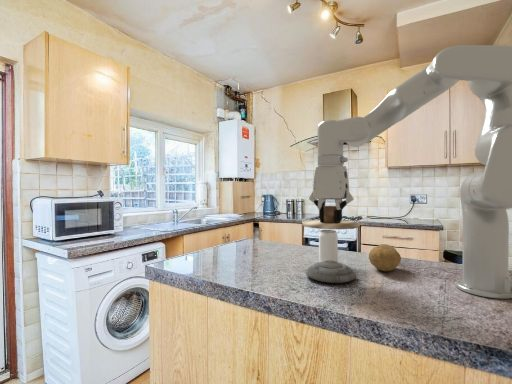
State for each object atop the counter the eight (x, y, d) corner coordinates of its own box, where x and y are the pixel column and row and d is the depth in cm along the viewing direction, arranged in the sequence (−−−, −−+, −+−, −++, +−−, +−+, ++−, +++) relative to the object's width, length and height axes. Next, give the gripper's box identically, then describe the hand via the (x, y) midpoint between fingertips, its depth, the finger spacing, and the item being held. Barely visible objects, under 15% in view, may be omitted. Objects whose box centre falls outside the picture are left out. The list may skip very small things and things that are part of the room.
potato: (365, 273, 92) (365, 248, 92) (371, 263, 104) (371, 241, 104) (399, 278, 87) (399, 252, 87) (401, 267, 99) (401, 244, 99)
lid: (366, 224, 90) (366, 205, 90) (349, 231, 76) (349, 209, 76) (315, 220, 100) (315, 204, 100) (292, 226, 86) (292, 206, 86)
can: (339, 266, 100) (339, 232, 100) (321, 266, 100) (320, 232, 100) (335, 261, 107) (334, 229, 107) (317, 261, 107) (317, 229, 107)
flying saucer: (310, 286, 81) (310, 267, 81) (302, 271, 96) (302, 254, 96) (364, 286, 81) (364, 267, 81) (347, 271, 96) (347, 254, 96)
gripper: (362, 161, 86) (362, 223, 86) (311, 164, 96) (311, 219, 96) (353, 159, 80) (353, 225, 80) (299, 163, 90) (300, 221, 90)
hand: (330, 221), depth 88 cm, fingers closed on lid, 4 cm apart
